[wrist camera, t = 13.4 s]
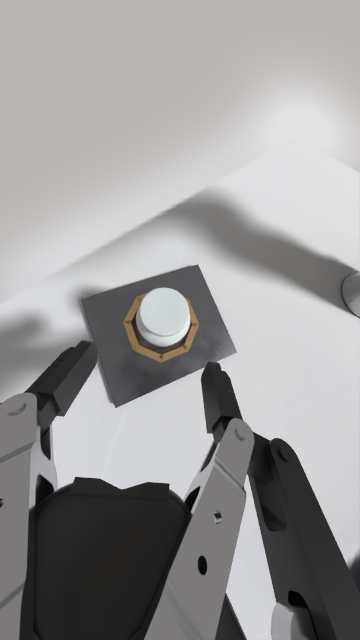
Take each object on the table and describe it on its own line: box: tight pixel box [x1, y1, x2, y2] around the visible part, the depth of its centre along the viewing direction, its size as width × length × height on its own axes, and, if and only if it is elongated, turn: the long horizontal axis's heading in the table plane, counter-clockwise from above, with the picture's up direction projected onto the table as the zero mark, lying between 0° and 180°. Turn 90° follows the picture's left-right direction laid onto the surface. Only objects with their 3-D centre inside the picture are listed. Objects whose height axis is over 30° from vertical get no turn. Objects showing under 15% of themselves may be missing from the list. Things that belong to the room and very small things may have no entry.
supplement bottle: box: [136, 288, 190, 347], centre depth 16 cm, size 5×5×10 cm
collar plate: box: [82, 265, 237, 408], centre depth 20 cm, size 18×15×4 cm
